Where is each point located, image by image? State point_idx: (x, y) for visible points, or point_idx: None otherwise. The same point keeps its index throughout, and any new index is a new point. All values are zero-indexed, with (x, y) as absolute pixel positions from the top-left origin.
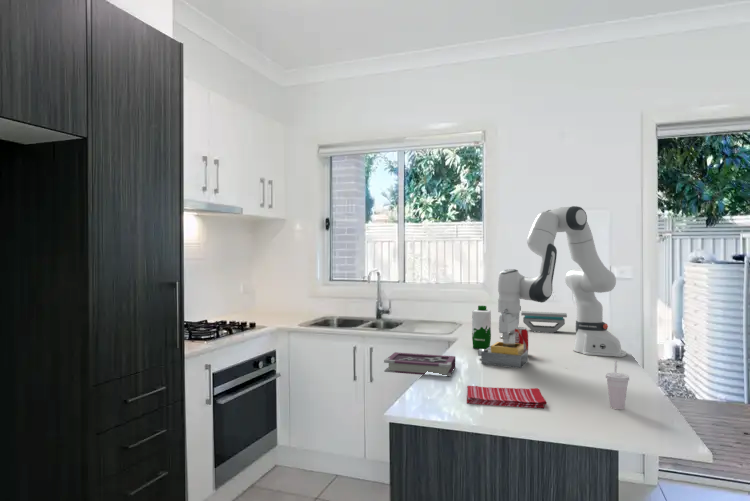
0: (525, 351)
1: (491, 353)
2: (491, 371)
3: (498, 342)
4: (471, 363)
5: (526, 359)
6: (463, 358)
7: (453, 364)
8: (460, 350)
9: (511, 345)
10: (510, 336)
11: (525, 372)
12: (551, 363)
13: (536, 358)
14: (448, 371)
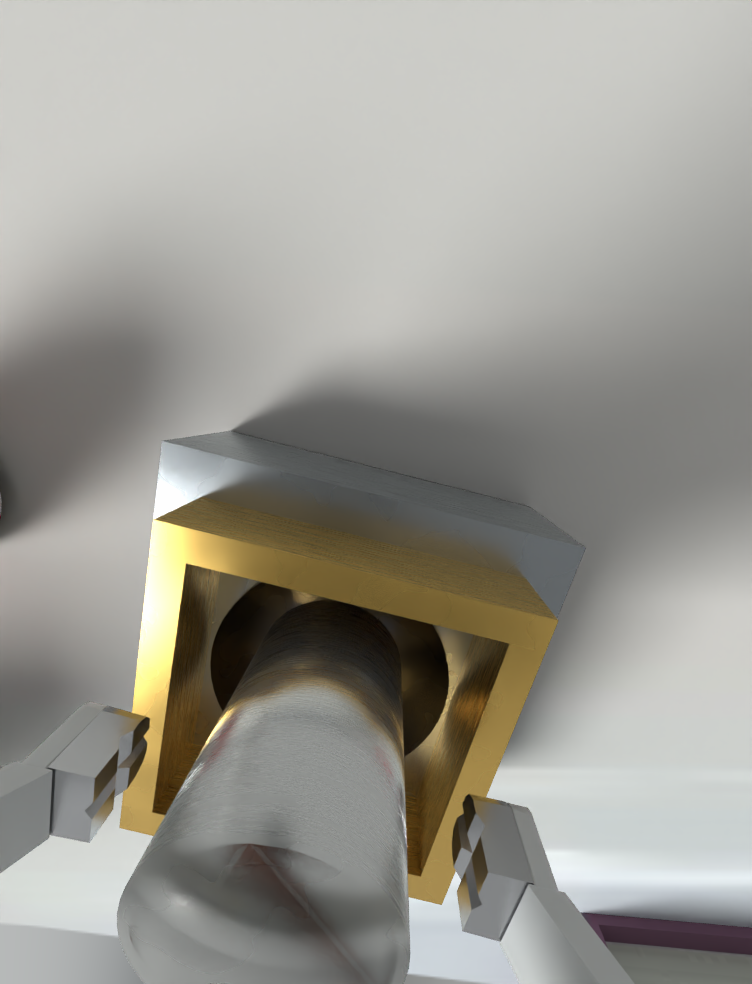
0: (294, 478)
1: None
2: (673, 718)
3: None
4: None
5: (281, 450)
6: None
7: None
8: (35, 889)
9: (395, 700)
10: (403, 880)
11: (680, 474)
12: (235, 189)
13: (57, 338)
14: (743, 953)
